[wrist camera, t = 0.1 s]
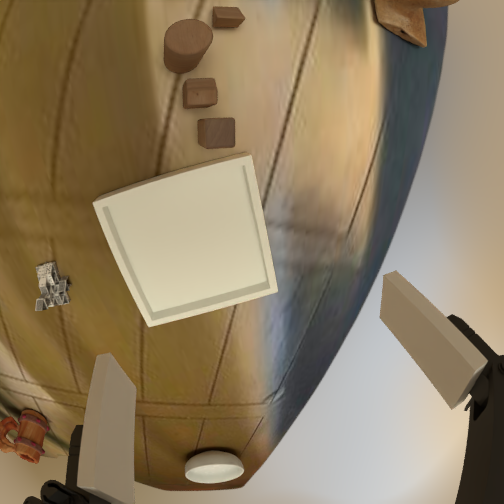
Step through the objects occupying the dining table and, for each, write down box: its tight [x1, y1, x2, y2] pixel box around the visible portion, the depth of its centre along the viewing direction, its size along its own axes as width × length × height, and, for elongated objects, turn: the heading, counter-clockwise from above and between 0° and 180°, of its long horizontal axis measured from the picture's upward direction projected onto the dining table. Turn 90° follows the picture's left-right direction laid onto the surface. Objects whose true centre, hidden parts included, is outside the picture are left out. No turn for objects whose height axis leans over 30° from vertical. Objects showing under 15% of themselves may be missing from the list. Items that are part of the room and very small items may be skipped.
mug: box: [0, 410, 50, 464], centre depth 43 cm, size 15×8×15 cm, turn 67°
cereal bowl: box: [185, 451, 244, 483], centre depth 67 cm, size 17×17×7 cm
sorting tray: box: [93, 152, 278, 327], centre depth 38 cm, size 20×20×3 cm
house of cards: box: [35, 262, 71, 311], centre depth 35 cm, size 9×9×8 cm
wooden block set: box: [164, 7, 245, 149], centre depth 26 cm, size 18×9×10 cm, turn 0°
